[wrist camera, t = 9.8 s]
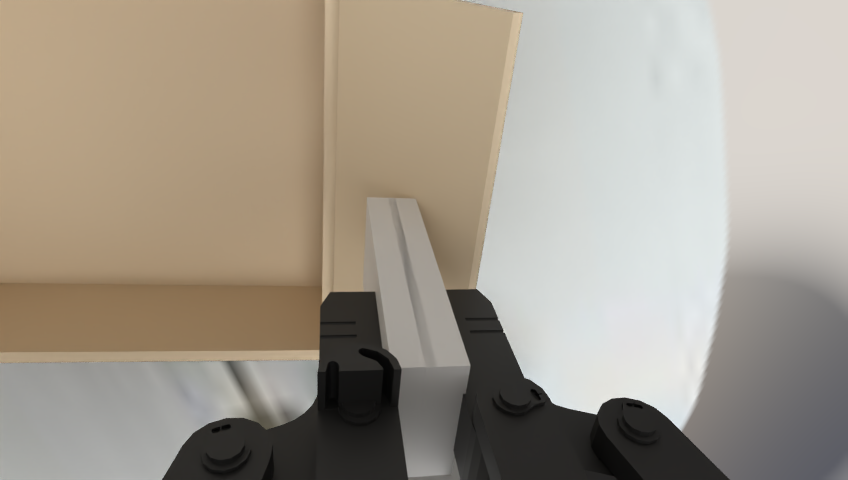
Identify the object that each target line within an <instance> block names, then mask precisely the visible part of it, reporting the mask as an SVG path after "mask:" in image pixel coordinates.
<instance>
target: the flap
mask: <svg viewBox="0 0 848 480" xmlns="http://www.w3.org/2000/svg"><path fill="white" fill-rule="evenodd" d="M522 16H523V13H521V12H516V11H511V10H506V9H501V8H496V7H491V6H486V5H481V4H476V3H471V2H466V1H461V0H339V46H338V94H337V141H336V189H335V236H334V284H333V292H364V289H363V271H364V250H365V229H366V208H367V197H377V198H414V199H416V201H417V204H418V207H419V210H420V213H421V216H422V219H423V222H424V225H425V228H426V231H427V234H428V237H429V240H430V243H431V247H432V250H433V253H434V256H435V259H436V262H437V265H438V268H439V271H440V274H441V277H442V280H443V283H444V286H445V289H446V290H451V289H476V285H477V279H478V273H479V267H480V261H481V255H482V250H483V244H484V238H485V232H486V226H487V220H488V214H489V209H490V203H491V197H492V191H493V185H494V179H495V174H496V168H497V162H498V156H499V150H500V144H501V139H502V133H503V127H504V121H505V115H506V109H507V104H508V98H509V92H510V86H511V80H512V74H513V69H514V63H515V57H516V51H517V45H518V39H519V34H520V28H521V22H522Z"/></svg>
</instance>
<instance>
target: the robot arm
mask: <svg viewBox="0 0 848 480" xmlns="http://www.w3.org/2000/svg"><path fill="white" fill-rule="evenodd" d="M363 289H364V292H330V293H329V294H328V296H327V297H326V299H325V300H324V301H323V303H322V304H321V306H320V345H319V369H318V394H317V397H316V399H315V401H314V403H313V405H312V406H311V407H310V408H309V409H308V410H307V411H306V412H305V413H304V414H303V415H301V416H300V417H298V418H297V419H295V420H293V421H291V422H288V423H286V424H284V425H281V426H277V427H274V428H271V429H268V430H266V429H264V428H263V427H262V426H261V425H260V424H259V423H257V422H254V421H251V420H248V419H245V418H226V419H222V420H219V421H216V422H212V423H209V424H207V425H206V426H204V427H203V428H201V429H199V430H198V431H196V432H194V433H193V434H192V436H191V437H190V438H189V439H188V440H187V441H186V442H185V444H184V445H183V446H182V448H181V449H180V451H179V453H178V454H177V456H176V458H175V459H174V461H173V463H172V464H171V466H170V468H169V469H168V471H167V473H166V474H165V476H164V478H163V479H162V480H408V477H423V476H436V475H450V474H451V473H452V468H453V462H454V457H455V459H456V463H457V467H458V472H459V476H460V480H729V479H728V478H727V477H726V476H725V475H724V474H723V473H722V472H721V471H720V470H719V469H718V468H717V467H716V466H715V465H714V464H713V463H712V462H711V461H710V460H709V459H708V458H707V457H706V456H705V455H704V454H703V453H702V452H701V451H700V450H699V449H698V448H697V447H696V446H695V445H694V444H693V443H692V442H691V441H690V440H689V439H688V438H687V437H686V436H685V435H684V434H683V433H682V432H681V431H680V430H679V429H678V428H677V427H676V426H675V425H674V424H673V423H672V422H671V421H670V420H669V419H668V418H667V417H666V416H665V415H663V414H662V413H661V412H659V411H658V410H657V409H656V408H654V407H652V406H650V405H648V404H646V403H644V402H641V401H639V400H634V399H629V398H615V399H610V400H609V401H607V402H605V403H603V404H602V406H601V407H600V409H599V411H598V414H597V415H595V414H591V413H586V412H581V411H576V410H572V409H567V408H564V407H560V406H557V405H555V404H553V403H552V402H551V400H550V398H549V397H548V396H547V394H546V393H545V392H544V390H543V389H542V388H541V387H539V386H538V385H537V384H535V383H534V382H532V381H531V380H528V379H526V378H524V376H523V374H522V372H521V369H520V367H519V365H518V362H517V360H516V358H515V356H514V353H513V351H512V349H511V346H510V344H509V342H508V340H507V337H506V335H505V333H503V328H502V326H501V324H500V321H499V320H498V317H497V315H496V312H495V310H494V308H493V305H492V303H491V302H490V301H489V300H488V299H487V298H486V297H485V296H484V295H483V294H481V293H480V292H479V291H478V290H477V289H451V290H446V289H445V286H444V283H443V280H442V277H441V274H440V271H439V268H438V265H437V262H436V259H435V256H434V253H433V250H432V247H431V243H430V240H429V237H428V234H427V231H426V228H425V225H424V222H423V219H422V216H421V213H420V210H419V207H418V204H417V201H416V199H414V198H377V197H367V208H366V229H365V250H364V271H363Z"/></svg>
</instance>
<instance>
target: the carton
mask: <svg viewBox="0 0 848 480" xmlns="http://www.w3.org/2000/svg"><path fill="white" fill-rule="evenodd" d="M338 46H339V0H0V363H46V362H153V361H259V360H319V345H320V306H321V304H322V303H323V301H324V300H325V299H326V297H327V296H328V294H329V293H330V292H333V284H334V236H335V189H336V141H337V94H338Z"/></svg>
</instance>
